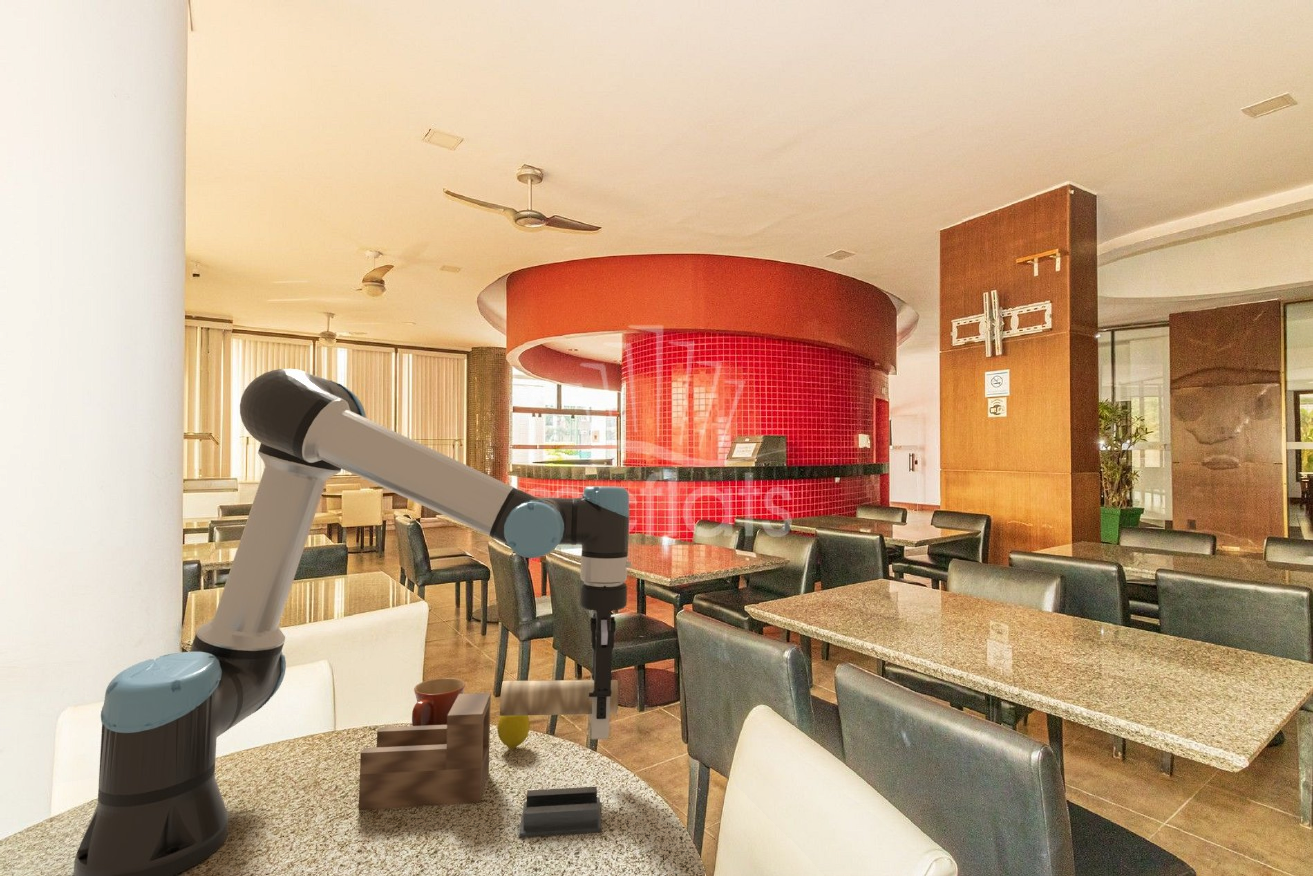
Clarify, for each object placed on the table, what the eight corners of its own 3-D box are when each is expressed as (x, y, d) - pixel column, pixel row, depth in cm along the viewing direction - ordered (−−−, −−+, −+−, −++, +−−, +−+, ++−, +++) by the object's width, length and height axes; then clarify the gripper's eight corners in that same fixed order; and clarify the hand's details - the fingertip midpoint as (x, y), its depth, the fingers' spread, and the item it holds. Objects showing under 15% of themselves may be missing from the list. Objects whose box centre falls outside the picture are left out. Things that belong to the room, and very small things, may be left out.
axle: (499, 722, 93) (500, 690, 93) (502, 705, 98) (504, 675, 98) (617, 720, 96) (618, 689, 95) (614, 703, 101) (616, 674, 100)
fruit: (519, 758, 104) (520, 710, 105) (490, 754, 106) (491, 706, 106) (534, 745, 110) (535, 699, 110) (507, 740, 111) (508, 695, 112)
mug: (430, 732, 115) (431, 676, 115) (472, 736, 113) (474, 679, 114) (390, 761, 103) (392, 698, 104) (437, 766, 101) (439, 703, 102)
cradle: (518, 838, 82) (519, 817, 82) (524, 806, 89) (524, 787, 90) (601, 832, 83) (601, 812, 83) (599, 801, 91) (599, 783, 91)
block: (358, 810, 88) (361, 719, 89) (378, 779, 97) (381, 696, 98) (480, 803, 90) (482, 714, 91) (488, 773, 99) (490, 692, 100)
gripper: (632, 593, 90) (627, 755, 89) (623, 573, 108) (619, 708, 107) (580, 593, 89) (575, 757, 88) (580, 573, 107) (575, 709, 106)
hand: (599, 730), depth 97 cm, fingers closed on axle, 5 cm apart
